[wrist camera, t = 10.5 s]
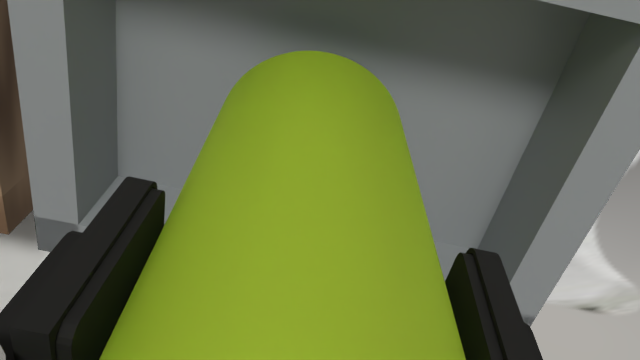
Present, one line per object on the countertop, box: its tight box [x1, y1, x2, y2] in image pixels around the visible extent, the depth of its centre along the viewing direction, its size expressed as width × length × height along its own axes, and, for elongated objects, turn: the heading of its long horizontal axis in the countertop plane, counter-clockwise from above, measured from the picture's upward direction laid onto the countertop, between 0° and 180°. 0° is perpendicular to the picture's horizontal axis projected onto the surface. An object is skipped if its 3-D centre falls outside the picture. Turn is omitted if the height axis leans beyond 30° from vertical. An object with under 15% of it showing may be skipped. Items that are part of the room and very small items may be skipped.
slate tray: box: [7, 0, 640, 326], centre depth 18 cm, size 14×19×4 cm
